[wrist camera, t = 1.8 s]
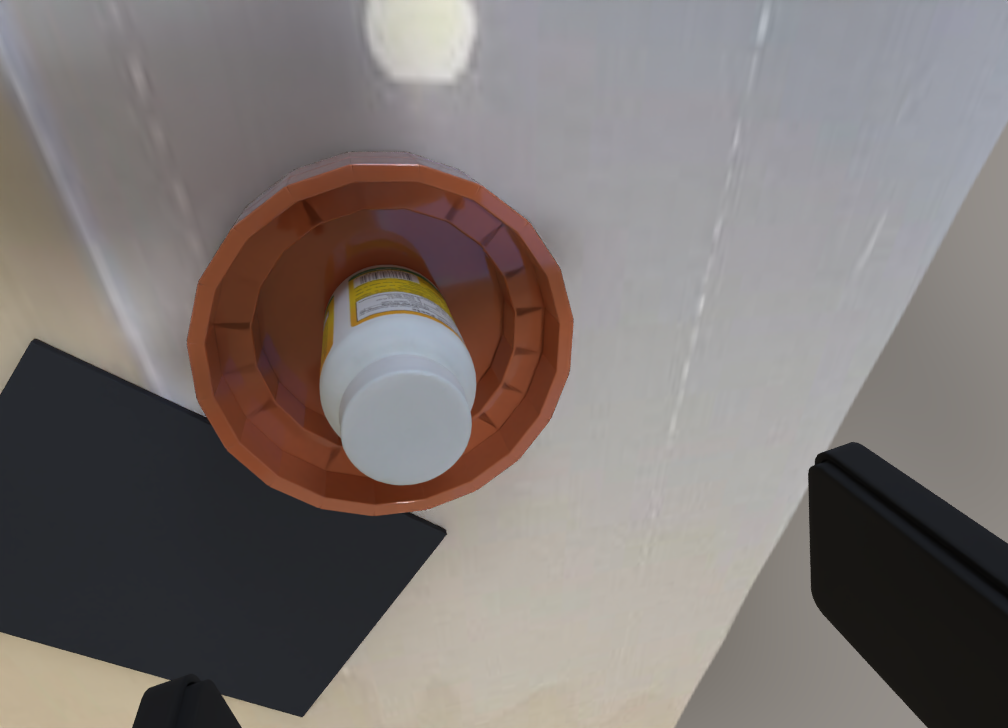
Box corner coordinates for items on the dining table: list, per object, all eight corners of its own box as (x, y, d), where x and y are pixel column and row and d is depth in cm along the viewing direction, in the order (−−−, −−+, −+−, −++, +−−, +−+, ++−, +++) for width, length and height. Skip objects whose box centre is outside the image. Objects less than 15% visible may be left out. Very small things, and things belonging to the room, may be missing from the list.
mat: (-112, 592, 28) (-118, 599, 28) (34, 338, 25) (30, 341, 25) (302, 711, 36) (302, 717, 36) (445, 529, 34) (447, 534, 33)
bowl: (145, 367, 27) (112, 418, 23) (330, 71, 24) (330, 69, 20) (426, 502, 33) (438, 561, 29) (600, 276, 30) (641, 306, 26)
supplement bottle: (387, 235, 27) (412, 310, 18) (472, 321, 29) (529, 423, 20) (295, 323, 27) (276, 436, 19) (386, 400, 30) (407, 532, 21)
